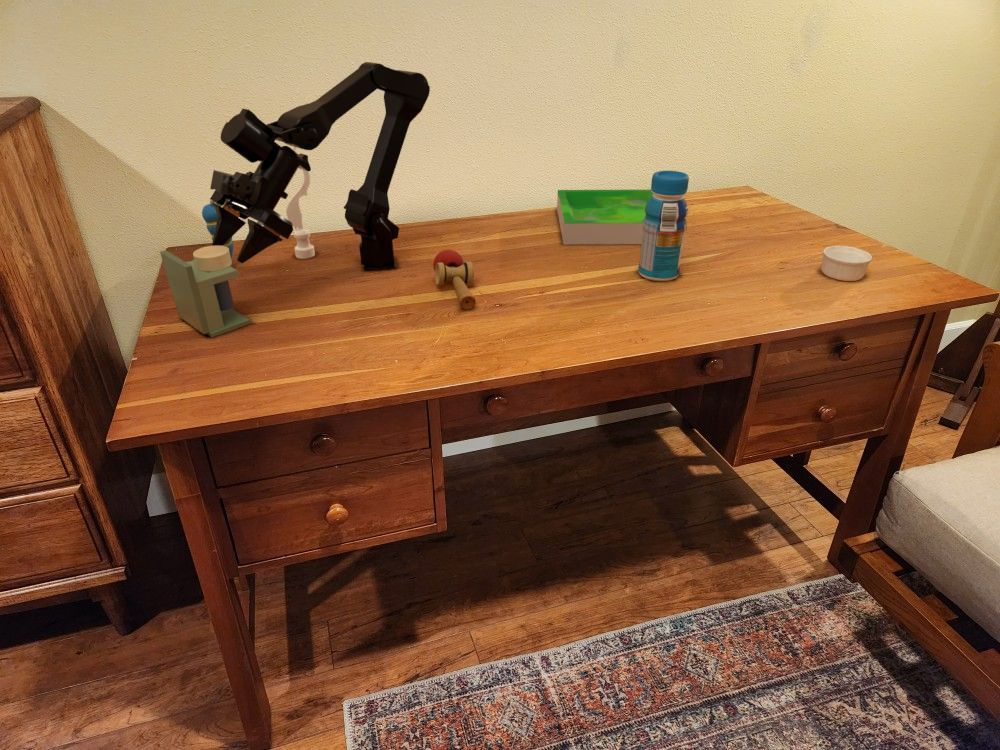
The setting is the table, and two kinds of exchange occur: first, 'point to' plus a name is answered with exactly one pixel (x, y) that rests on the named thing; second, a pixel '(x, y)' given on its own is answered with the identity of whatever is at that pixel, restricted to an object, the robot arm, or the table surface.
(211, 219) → the ornament
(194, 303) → the stand
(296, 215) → the decorative finial
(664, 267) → the beverage bottle
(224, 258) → the peg
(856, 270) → the ramekin
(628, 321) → the table surface
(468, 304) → the kendama
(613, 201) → the tray
